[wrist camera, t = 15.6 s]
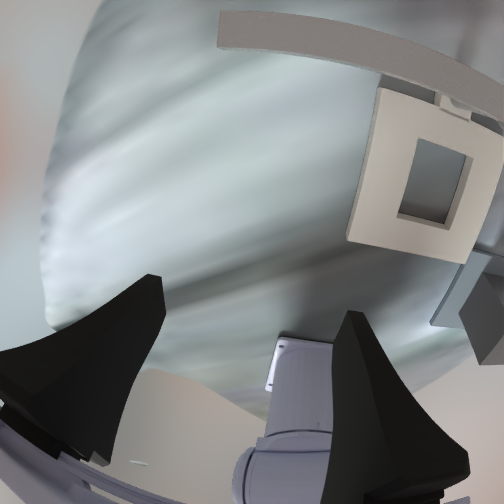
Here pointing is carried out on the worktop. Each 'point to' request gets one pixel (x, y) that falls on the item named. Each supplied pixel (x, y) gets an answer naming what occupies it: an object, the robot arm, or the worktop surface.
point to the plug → (486, 319)
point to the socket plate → (398, 168)
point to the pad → (465, 287)
